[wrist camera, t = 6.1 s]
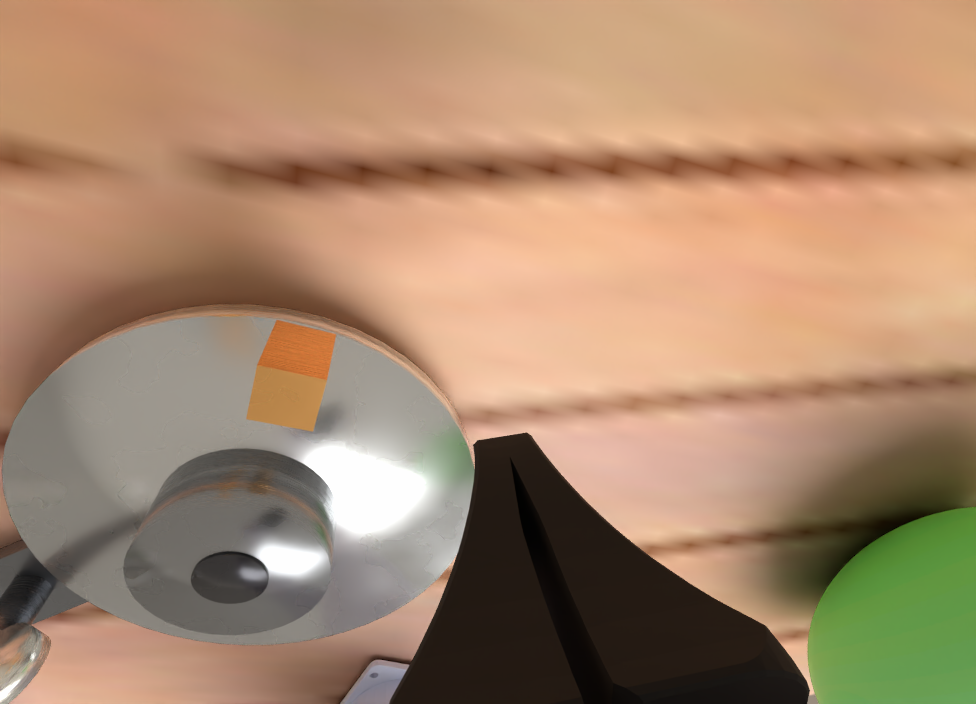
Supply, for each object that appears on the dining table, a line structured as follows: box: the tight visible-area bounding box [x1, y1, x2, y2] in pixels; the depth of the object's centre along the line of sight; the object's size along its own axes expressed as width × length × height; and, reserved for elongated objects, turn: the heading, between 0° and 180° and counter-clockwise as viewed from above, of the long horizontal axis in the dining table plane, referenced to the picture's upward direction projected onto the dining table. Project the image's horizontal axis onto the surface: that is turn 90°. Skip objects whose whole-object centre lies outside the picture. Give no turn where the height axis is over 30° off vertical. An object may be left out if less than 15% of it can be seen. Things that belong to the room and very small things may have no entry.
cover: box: [123, 448, 338, 635], centre depth 21 cm, size 7×7×3 cm
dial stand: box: [0, 540, 88, 704], centre depth 22 cm, size 5×4×7 cm
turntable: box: [2, 304, 475, 645], centre depth 21 cm, size 18×18×4 cm
